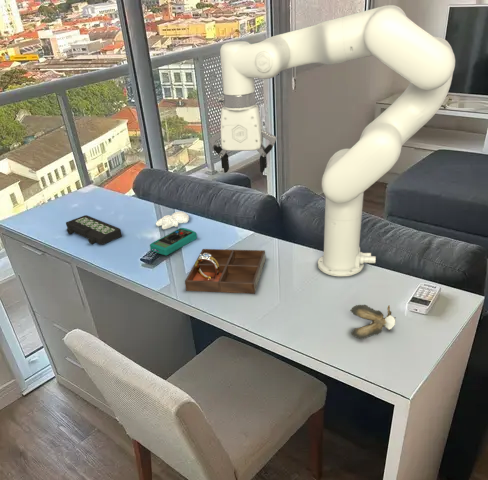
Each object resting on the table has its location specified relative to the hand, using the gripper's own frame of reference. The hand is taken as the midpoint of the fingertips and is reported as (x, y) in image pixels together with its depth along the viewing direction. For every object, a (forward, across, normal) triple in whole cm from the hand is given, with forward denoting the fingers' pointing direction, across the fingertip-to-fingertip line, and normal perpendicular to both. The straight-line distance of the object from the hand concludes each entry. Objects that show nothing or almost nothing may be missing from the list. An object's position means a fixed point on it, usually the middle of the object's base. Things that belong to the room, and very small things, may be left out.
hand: (244, 170), depth 128 cm
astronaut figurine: (+26, -32, +25) cm, 48 cm away
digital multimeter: (+26, -26, +8) cm, 38 cm away
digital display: (+26, -58, +15) cm, 65 cm away
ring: (+26, -9, -14) cm, 31 cm away
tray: (+26, -5, -9) cm, 28 cm away
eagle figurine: (+26, +34, -32) cm, 54 cm away
